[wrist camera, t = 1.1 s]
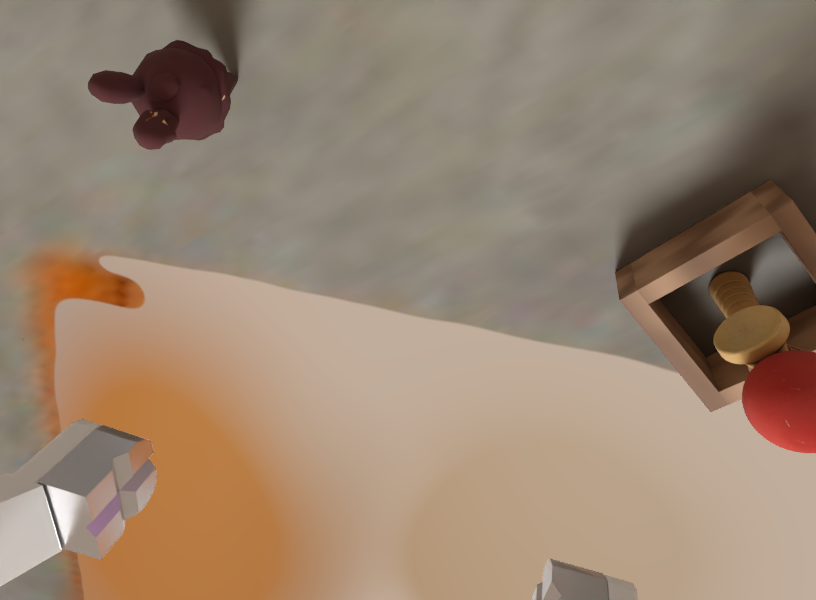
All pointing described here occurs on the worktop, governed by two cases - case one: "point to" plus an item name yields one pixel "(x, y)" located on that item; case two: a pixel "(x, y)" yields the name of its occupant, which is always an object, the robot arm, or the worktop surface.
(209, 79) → the icecream
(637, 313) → the block
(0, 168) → the worktop surface
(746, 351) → the kendama
